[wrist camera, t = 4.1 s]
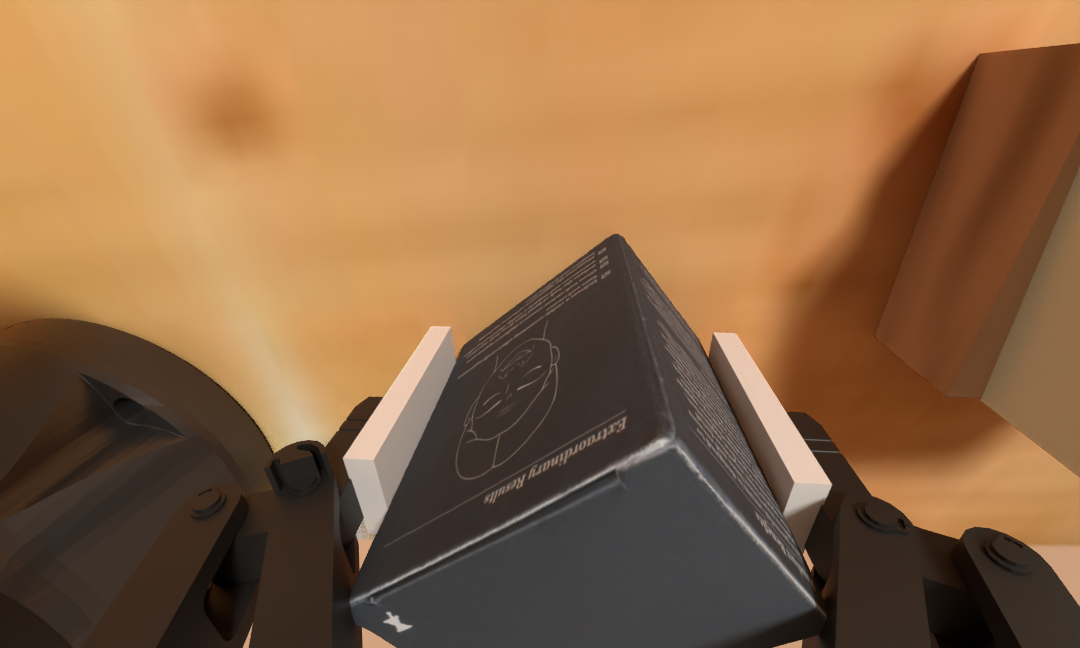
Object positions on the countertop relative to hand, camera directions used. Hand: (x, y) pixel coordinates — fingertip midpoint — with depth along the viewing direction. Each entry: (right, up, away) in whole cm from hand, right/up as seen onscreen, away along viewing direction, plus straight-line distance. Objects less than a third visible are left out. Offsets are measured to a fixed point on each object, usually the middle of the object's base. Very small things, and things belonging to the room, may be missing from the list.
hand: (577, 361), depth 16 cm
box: (0, +1, +2) cm, 2 cm away
